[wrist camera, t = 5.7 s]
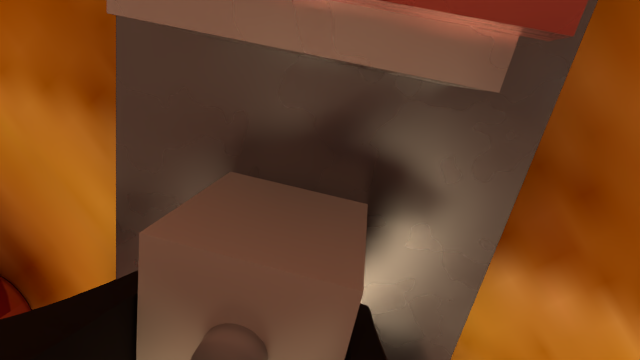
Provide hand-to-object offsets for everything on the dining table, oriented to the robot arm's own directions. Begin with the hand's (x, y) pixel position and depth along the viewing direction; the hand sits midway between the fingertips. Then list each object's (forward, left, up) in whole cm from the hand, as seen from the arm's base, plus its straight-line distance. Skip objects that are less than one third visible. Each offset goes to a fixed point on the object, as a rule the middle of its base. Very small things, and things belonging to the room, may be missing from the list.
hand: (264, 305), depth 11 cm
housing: (0, -1, -2) cm, 2 cm away
